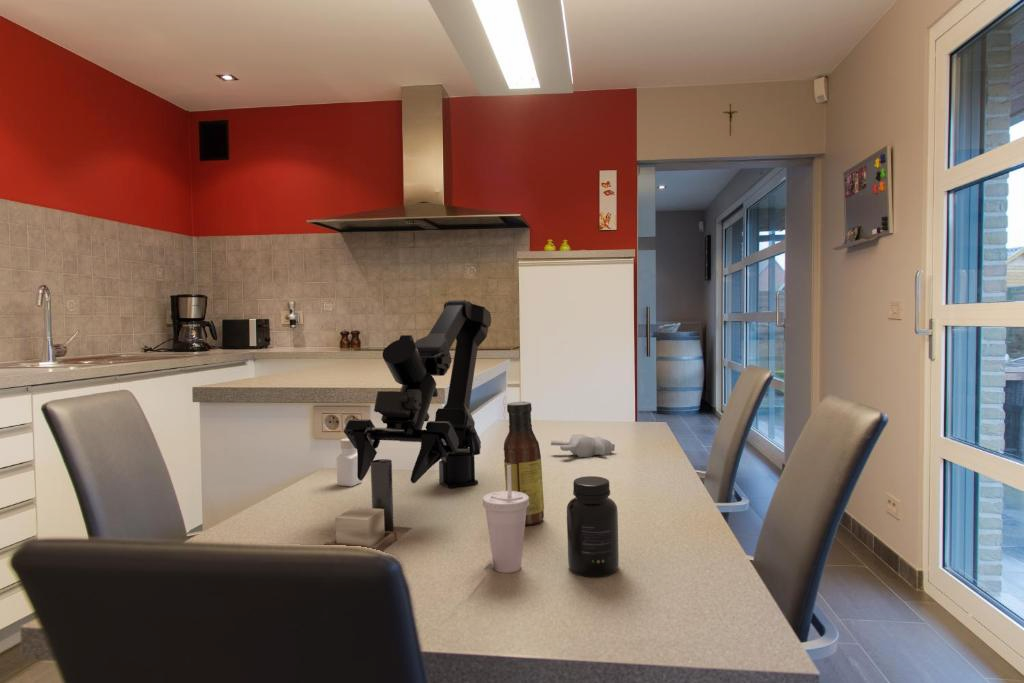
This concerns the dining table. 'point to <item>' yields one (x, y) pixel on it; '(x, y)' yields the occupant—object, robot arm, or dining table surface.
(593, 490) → the supplement bottle
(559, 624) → the dining table surface
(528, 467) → the sauce bottle
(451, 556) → the dining table surface
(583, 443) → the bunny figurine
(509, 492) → the smoothie
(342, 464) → the white plastic bottle
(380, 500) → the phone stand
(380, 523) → the birch block
